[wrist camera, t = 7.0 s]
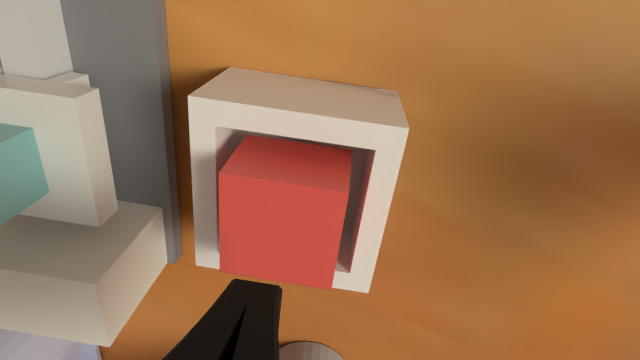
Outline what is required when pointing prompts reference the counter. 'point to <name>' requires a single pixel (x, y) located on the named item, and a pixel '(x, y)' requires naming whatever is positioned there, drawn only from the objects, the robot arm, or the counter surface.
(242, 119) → the box
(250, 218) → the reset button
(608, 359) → the counter surface
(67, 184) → the carriage
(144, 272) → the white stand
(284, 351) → the coffee cup
